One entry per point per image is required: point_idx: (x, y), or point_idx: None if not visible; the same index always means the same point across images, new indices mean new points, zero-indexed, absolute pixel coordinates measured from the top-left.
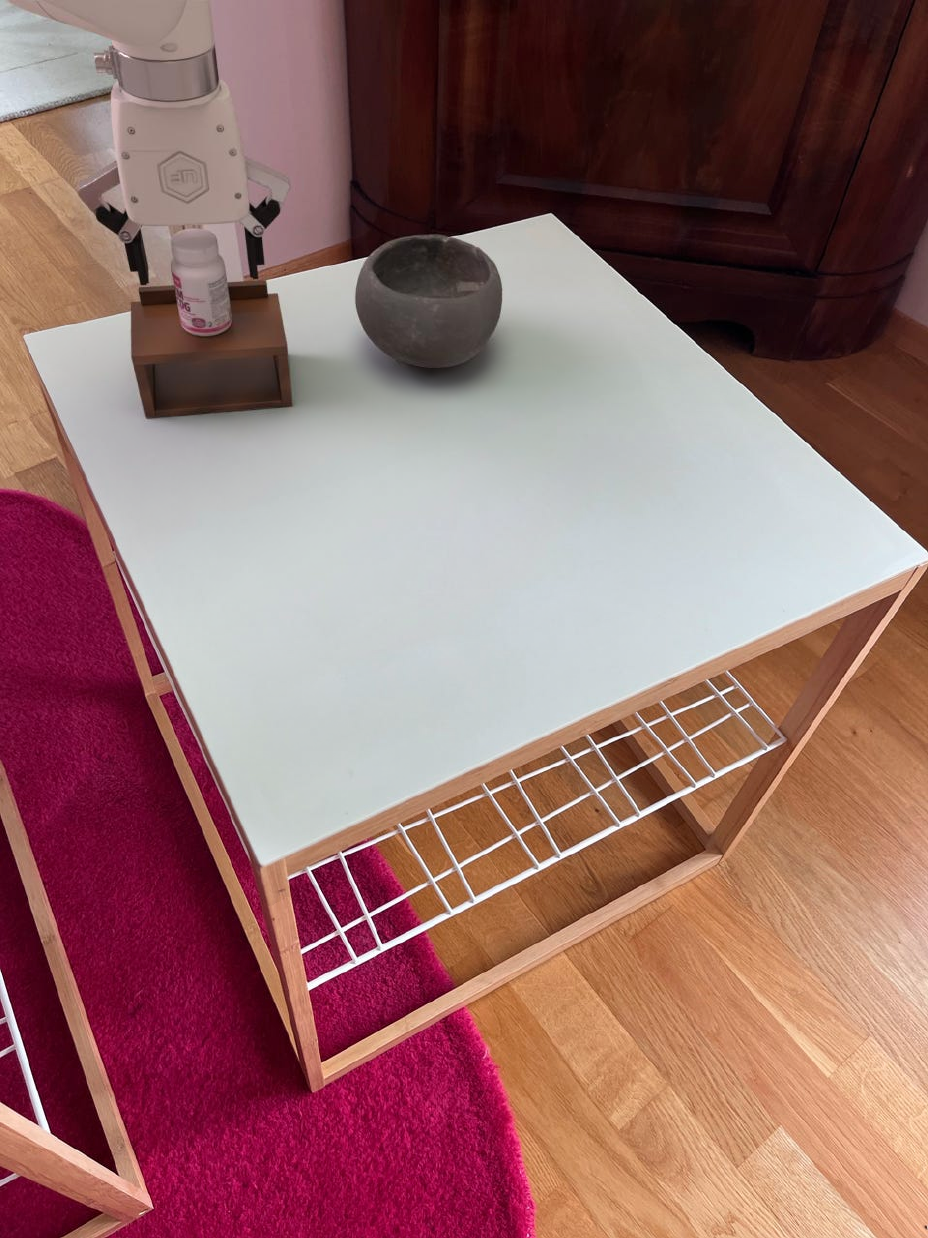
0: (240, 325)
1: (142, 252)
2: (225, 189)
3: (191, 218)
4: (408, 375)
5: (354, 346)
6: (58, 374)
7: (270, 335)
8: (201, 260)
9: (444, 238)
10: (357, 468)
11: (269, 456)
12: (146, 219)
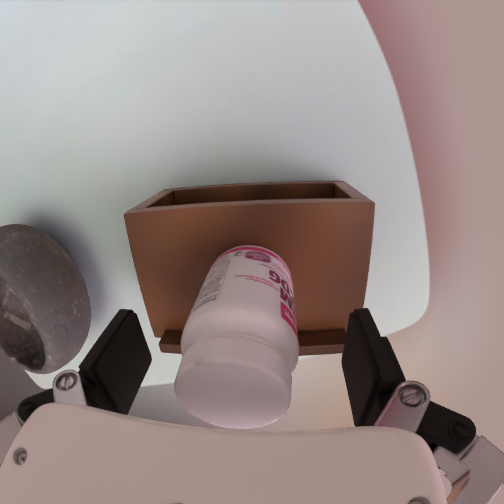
0: (196, 271)
1: (368, 364)
2: (35, 488)
3: (188, 446)
4: (64, 238)
5: (113, 290)
6: (421, 272)
7: (149, 241)
8: (214, 341)
9: (14, 360)
10: (103, 84)
11: (192, 96)
12: (374, 446)
